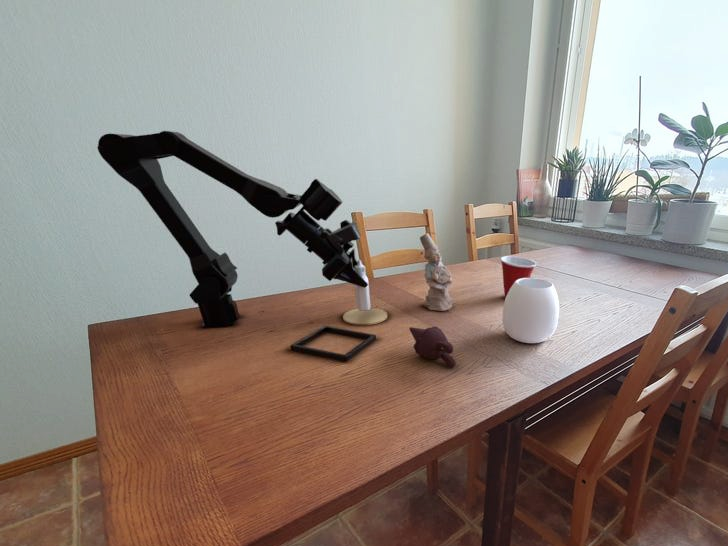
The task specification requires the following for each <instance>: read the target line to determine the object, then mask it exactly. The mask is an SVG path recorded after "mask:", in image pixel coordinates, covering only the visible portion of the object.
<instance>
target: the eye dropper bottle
mask: <svg viewBox="0 0 728 546" xmlns="http://www.w3.org/2000/svg"><path fill="white" fill-rule="evenodd" d="M357 262H358V264H357V265H356V266H355V270H356V271H357V272H358V273H359V274H360V275H361V276H362V278H363V279H364V280H365V281H366V282H367V284H368V286H367V287H365V288H364V287H361V286H358V285H355V284H353V287H354V296H355V305H356V309H358V310H359V311H368V310H369V309H370V308H371V295H370V283H369V278H368V277H369V276H368V275H367V276H368V277H367V276H366V275H365V274H367V273H366V272H367V271H366V266H365V265H363V263H362V260H361V259H357Z"/></svg>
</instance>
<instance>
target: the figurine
mask: <svg viewBox="0 0 728 546" xmlns="http://www.w3.org/2000/svg"><path fill="white" fill-rule="evenodd" d="M419 240H420V243H421V245H422V247H423V249H424V255H423V258H424V259H425V260H427V263H426V264H425V266H424V278H425V283H426V284H427V285H428V286H429V289H428V290H427V292H428V293H427V295H425V300H424V302H422V306H424V307H426V308H427V309H428V310H430V311H437V312H438V311H439V312H445V311H447V310H448V311H449V310H450V309H451V308H452V307H453V300H452V299H451V293H450V291H449V290H448V287H449V286H450V285H451V284H453V279H452V274H451V272H450V270H449V269H448V267H447V266H445V265H444V263H443V262H442V260H443V259H442V258H443V254H441V253H440V248H439V247H438V246H437V245H436V243H435V242H434V240H433V239H432V237H431V235H430V234H429V233H428V232H427V233H425V234H423V235H421V236H420V237H419Z"/></svg>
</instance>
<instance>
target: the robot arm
mask: <svg viewBox="0 0 728 546" xmlns="http://www.w3.org/2000/svg"><path fill="white" fill-rule="evenodd" d="M97 143H98V144H97V147H96V148H97V151H98V153H99V155H100V158H102V159H103V160H104V162H106V164H108V166H110V168H111V169H112V170H113V171H114V172H115V173H116V174H117V175H118V176H119V177H121V178H122V179H124V180H125V181H126V182H127V183H129V184H130V185H132V186H133V187H135V188H136V189H137V190H138V191H139V192H140V194H141V195H142V197H143V198H144V199H145V201H146V202H147V203H148V204H149V206H150V207H151V209H152V210H153V211H154V212H155V214H156V215H157V217H158V218H159V220H160V221H161V222H162V224H163V225H164V226H165V228H166V229H167V231H168V232H169V233H170V234H171V236H172V238H174V240H175V241H176V242H177V244H178V246H179V247H180V248H181V249H182V250H183V252H184V253H185V255H186V256H187V258H188V260H189V264H190V267H191V268H190V269H191V273H192V274H193V276H194V278H195V280H196V282H197V285H196V286H195V288H194V289H193V290H192V291H191V292H190V293H189V297H190V299H191V300H192V301H193V302H194V304H196V305H197V307H198V309H199V312H200V316H201V319H202V324H201V327H202V328H218V327H231V326H232V327H233V326H235V325H236V323H237V321H238V320H239V318H240V315H241V314H240V313H239V309H238V308H239V307H238V305H237V302H236V300H233V297H232V296H233V295H232V293H230V292H232V290H233V286H234V285H235V284H236V283H237V281H238V277H239V275H238V273H237V270H238V267H237V266H235V265H234V264H233V262H232V261H231V259H230V257H229V255H228V254H227V252H223V253H221V254H219V253H218V252H217V251H215V250H214V249H213V248H211V246H210V245H209V244H208V242H207V241H206V239H205V237H203V236H204V235H202V233H201V232H200V231H199V229H198V227H197V226H196V225H195V223H194V222H193V221H192V219H191V217H190V216H189V214H187V212H186V210H185V209H184V208H183V207H182V204H181V203H180V202H179V200H178V198H176V196H175V194H174V193H173V192H172V191H171V189H170V188H169V186H168V185H167V183H166V181H165V179H164V174H163V171H162V166H161V164H160V162H159V160H161V159H167V158H170V157H175V158H177V159H178V160H180V161H182V162H184V163H185V164H187V165H189V166H190V167H193V168H194V169H196V170H197V171H199V172H201V173H203V174H204V175H206V176H208V177H210V178H211V179H213V180H215V181H217V182H219V183H220V184H222V185H224V186H225V187H228V188H229V189H230V190H232V191H234V192H236V193H237V194H238V195H240V196H241V198H243V199H244V200H245V201H246V203H248V204H249V205H250V206H252V207H253V208H254V209H256V210H257V211H258V212H260V213H261V214H262V215H264V216H265V217H268V218H272V219H275V218H279V217H281V216H282V215H284V214H285V213H288V211H291V210H295V209H296V208H298V207H299V206H301V208H299V210H298V211H297V212H296V213H294V212H289V213H288V214H287V215H286V216H285V217H284V218H283V219H282V220H276V221H275V222H274V223H275V224H274V225H275V227H276V234H277V236H282V235H283V234H284V233H285V232H286V231H287V232H289V233H290V234H291V235H292V236H293V237H294V238H296V240H299V242H300V243H302V244H303V245H304V246H305V247H306V248H307V249H306V251H307V252H308V253H310V254H312V253H313V254H315V256H316V257H318V258H319V259H320V260H322V262H321V263H322V265H323V267H322V268H321V273H322V274H321V275H322V277H324V278H325V279H327V280H328V281H329V282H331V281H332V280H338V281H341V282H346V283H349V284H351V285H354V284H355V285H358V286H361V287H364V288H365V287H367V286H368V284H367V282H366V281H365V280H364V279H363V278H362V276H361V275H360V274H359V273H358V272H357V271H356V270H355V266H356V265H357V264H358V259H356V251H355V250H356V249H355V248H354V243H353V241H354V242H355V241H357V240H359V239H360V238H361V236H362V233H361V232H360V230H359V229H358V225H357V224H356V223H355V222H354V221H352V222H351V221H349V220H348V219H344V220H342V221H340V223H339V225H340V228H339V227H338V228H337V229H336V230H333V231H332V230H331V229H330V228H328V227H326V228H324V227H323V226H322V225H320V223H318V221H319V222H320V220H322V221H325V222H326V221H327V220H328V219H329V218H330V217H331V216H332V215H333V214H334V213H335V212H336V211H337V209H338V208H339V207H340V206H341V205H342V204H343V201H342V199H341V198H340V197H339V195H338V194H337V193H335V191H334V190H333V189H332V188H329V187H328V186H326V184H325V183H323V182H321V181H320V180H319V179H318V178H314V179H313V180H312V181H311V183H310V185H309V187H307V189H305V191H304V192H303V193H302V194H301V195H299V194H295V193H294V194H293V193H289V192H287V191H286V190H285V189H284V188H283V187H280V186H278V185H276V184H273V183H271V182H268V181H266V180H264V179H260V178H257V177H254V176H252V175H250V174H247V173H246V172H244V171H242V170H241V169H239V168H237V167H235V166H234V165H232V164H231V163H229V162H228V161H225V160H224V159H222V158H221V157H219V156H217V155H215V154H214V153H212V152H210V151H209V150H207V149H205V148H204V147H202V146H200V145H198V143H195V142H193V141H192V140H190V139H189V138H187V137H186V135H184V134H182V133H181V132H179V131H173V130H172V131H171V130H170V131H169V130H162V131H160V132H157V133H149V134H140V135H133V134H126V133H125V134H124V133H105V134H103V135H102V136H100V137H99V139H98V142H97ZM350 249H351V251H349V250H350ZM365 275H366V276H367V277H368V279H370V277H369V276H368V274H367V273H366V274H365Z"/></svg>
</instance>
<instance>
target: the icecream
mask: <svg viewBox="0 0 728 546" xmlns="http://www.w3.org/2000/svg"><path fill="white" fill-rule="evenodd" d="M408 330H409V332H410V333H411V335H412V337H413V339H414V341H415V342H414V344H413V349H414V351H415V353H416V354H418V356H420V357H423V358H425V359H427V360H438V359H440V358H441V361H443V362H444V364H446V365H447V366H448V367H450V368H454V367H456V365H457V363H456V360H455V358H454V357H453V356H451V354H452V353H453V352H454V345H453V344H452V343H451V342H449V341H448V340H449V339H448V338H447V337H446V335H445V333H444V332H443V331H442V329H441V328H439V327H438V326H432V327H431V326H430V327H427V328H419V327H411V326H410V327H409V329H408Z"/></svg>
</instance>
